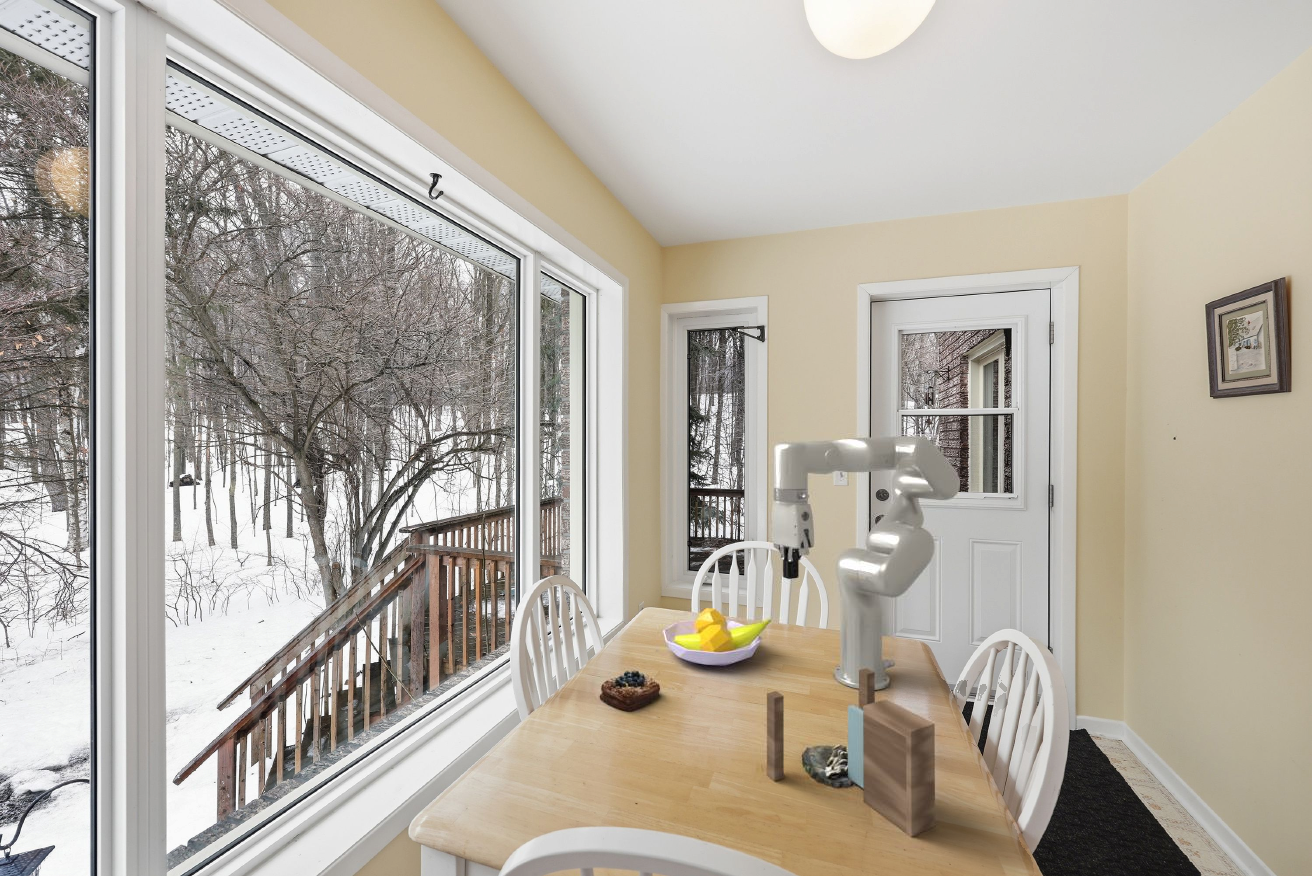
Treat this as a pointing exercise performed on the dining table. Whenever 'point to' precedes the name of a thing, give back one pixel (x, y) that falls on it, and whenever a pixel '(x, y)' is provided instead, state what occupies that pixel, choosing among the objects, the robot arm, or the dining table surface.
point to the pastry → (629, 691)
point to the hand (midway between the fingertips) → (790, 577)
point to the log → (828, 765)
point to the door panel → (855, 744)
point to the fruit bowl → (713, 639)
